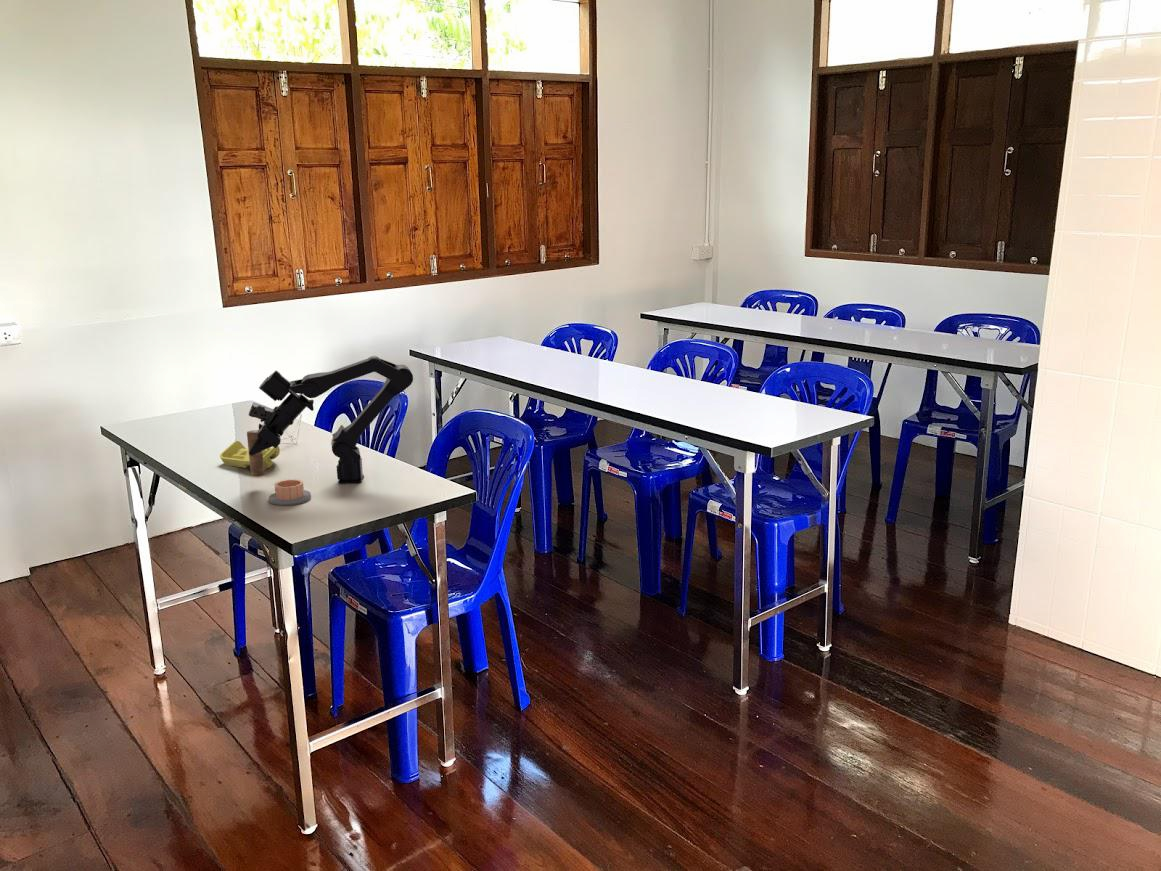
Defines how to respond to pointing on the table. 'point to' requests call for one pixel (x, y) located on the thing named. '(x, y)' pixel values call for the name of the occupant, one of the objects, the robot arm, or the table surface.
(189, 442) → the table surface
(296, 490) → the ring
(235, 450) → the plastic component
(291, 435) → the geometric polyhedron
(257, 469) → the walnut rail post
